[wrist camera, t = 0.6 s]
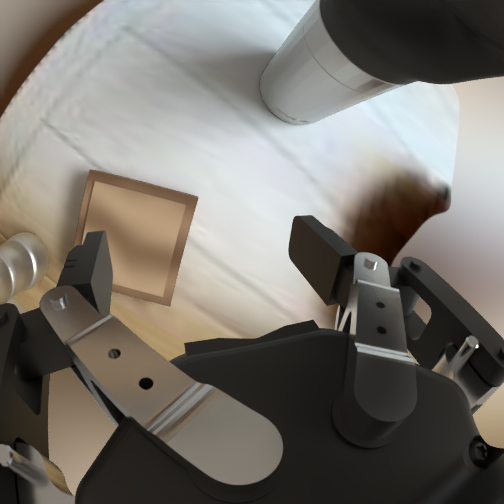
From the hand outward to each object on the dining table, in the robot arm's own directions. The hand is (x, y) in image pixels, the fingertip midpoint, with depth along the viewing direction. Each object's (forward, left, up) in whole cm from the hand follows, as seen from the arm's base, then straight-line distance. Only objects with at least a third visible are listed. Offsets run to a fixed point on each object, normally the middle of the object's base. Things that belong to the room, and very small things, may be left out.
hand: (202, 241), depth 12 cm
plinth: (+5, -6, -21) cm, 22 cm away
